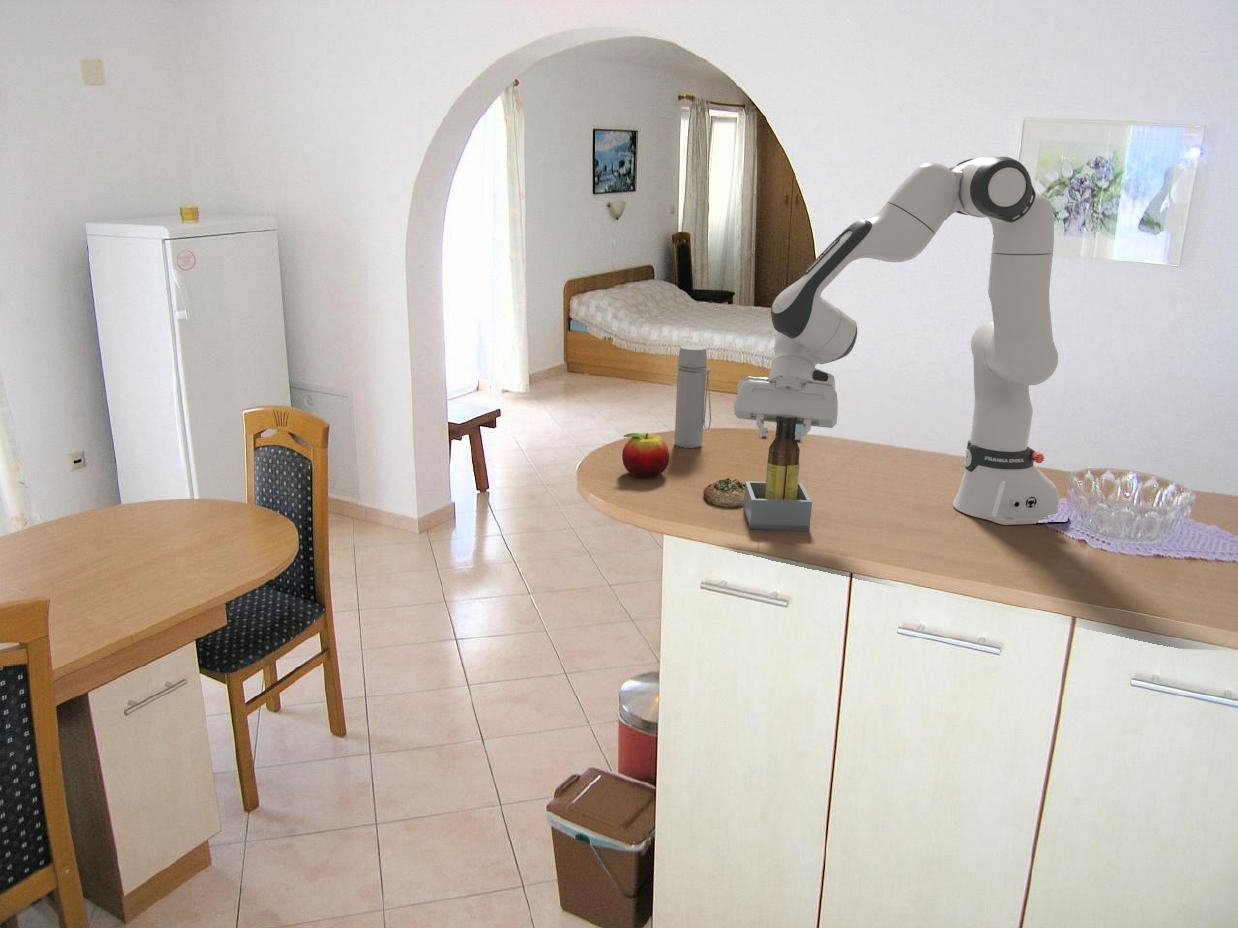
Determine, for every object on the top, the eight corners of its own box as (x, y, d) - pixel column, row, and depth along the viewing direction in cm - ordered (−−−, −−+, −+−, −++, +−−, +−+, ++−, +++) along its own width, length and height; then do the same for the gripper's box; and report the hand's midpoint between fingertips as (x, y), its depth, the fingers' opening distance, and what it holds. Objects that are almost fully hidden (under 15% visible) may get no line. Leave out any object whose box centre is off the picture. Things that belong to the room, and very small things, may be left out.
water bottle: (669, 447, 238) (673, 348, 231) (679, 439, 245) (683, 343, 238) (704, 452, 235) (709, 352, 228) (713, 444, 242) (719, 347, 235)
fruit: (673, 481, 212) (674, 438, 209) (625, 482, 211) (626, 439, 208) (663, 467, 222) (665, 425, 220) (617, 468, 221) (618, 426, 218)
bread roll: (710, 487, 209) (714, 466, 207) (758, 501, 206) (763, 480, 204) (694, 504, 199) (699, 482, 197) (745, 519, 196) (750, 497, 194)
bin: (799, 510, 196) (802, 482, 194) (809, 530, 185) (812, 501, 183) (743, 508, 196) (745, 481, 194) (749, 529, 185) (751, 499, 183)
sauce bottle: (792, 512, 192) (803, 415, 189) (797, 519, 186) (808, 419, 183) (760, 509, 192) (770, 412, 189) (763, 516, 186) (774, 416, 183)
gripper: (738, 367, 191) (726, 425, 185) (842, 376, 186) (833, 437, 180) (740, 384, 196) (728, 442, 190) (841, 394, 191) (833, 453, 185)
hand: (780, 439), depth 185 cm, fingers open, 5 cm apart
